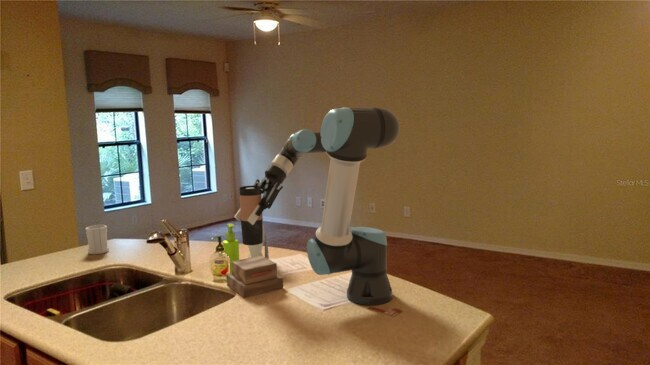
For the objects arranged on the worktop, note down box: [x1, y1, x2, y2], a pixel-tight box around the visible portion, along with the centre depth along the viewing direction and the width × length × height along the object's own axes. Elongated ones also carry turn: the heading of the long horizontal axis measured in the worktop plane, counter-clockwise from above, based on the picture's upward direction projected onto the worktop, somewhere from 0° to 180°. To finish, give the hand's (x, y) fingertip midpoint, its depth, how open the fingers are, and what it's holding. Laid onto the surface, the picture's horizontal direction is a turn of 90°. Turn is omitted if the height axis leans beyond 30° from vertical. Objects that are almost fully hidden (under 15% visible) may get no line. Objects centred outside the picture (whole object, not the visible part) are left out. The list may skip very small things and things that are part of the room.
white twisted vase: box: [247, 224, 270, 260], centre depth 197 cm, size 8×8×28 cm
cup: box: [85, 224, 110, 255], centre depth 217 cm, size 10×9×12 cm
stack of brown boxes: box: [226, 255, 284, 299], centre depth 167 cm, size 15×15×9 cm
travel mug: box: [238, 185, 264, 246], centre depth 165 cm, size 8×8×20 cm
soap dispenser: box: [222, 222, 240, 274], centre depth 181 cm, size 6×7×20 cm
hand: (243, 220), depth 162 cm, fingers closed on travel mug, 7 cm apart
